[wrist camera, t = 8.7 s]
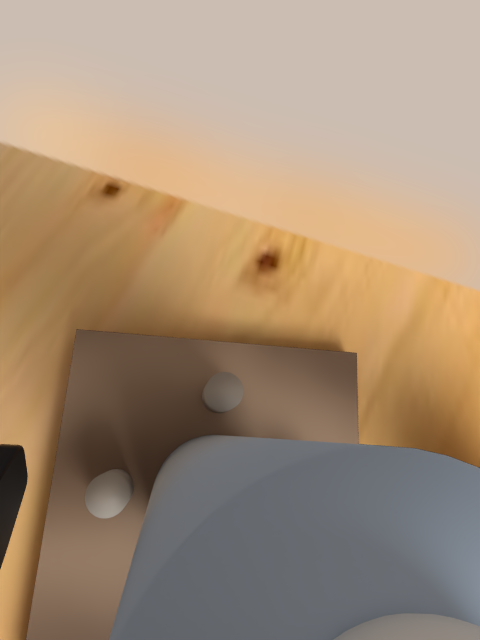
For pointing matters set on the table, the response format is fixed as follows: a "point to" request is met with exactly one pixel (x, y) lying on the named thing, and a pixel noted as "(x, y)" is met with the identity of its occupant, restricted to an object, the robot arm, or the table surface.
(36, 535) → the table surface
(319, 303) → the table surface
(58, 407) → the table surface
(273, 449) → the pepper mill
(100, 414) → the brown pegged base plate
